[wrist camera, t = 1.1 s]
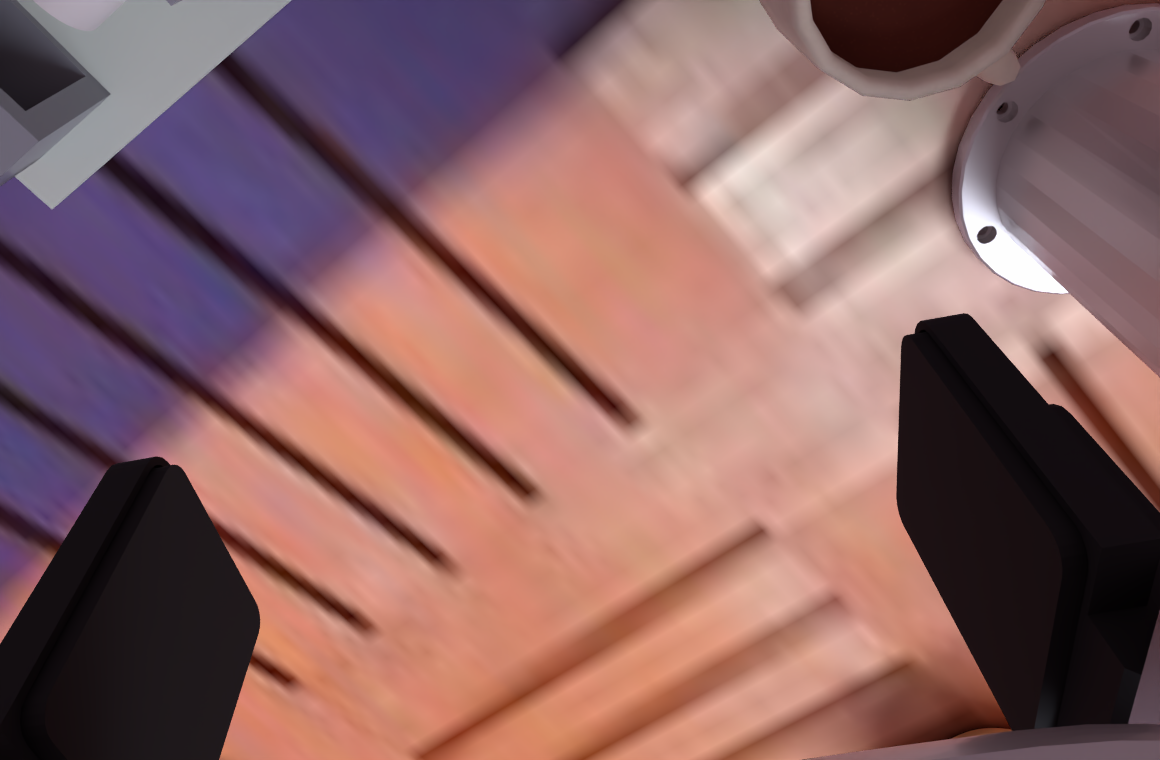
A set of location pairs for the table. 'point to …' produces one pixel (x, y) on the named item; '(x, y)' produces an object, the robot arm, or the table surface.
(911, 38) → the character mug
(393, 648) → the table surface
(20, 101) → the socket
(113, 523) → the robot arm
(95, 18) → the sliding bolt
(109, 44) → the board
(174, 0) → the bracket
